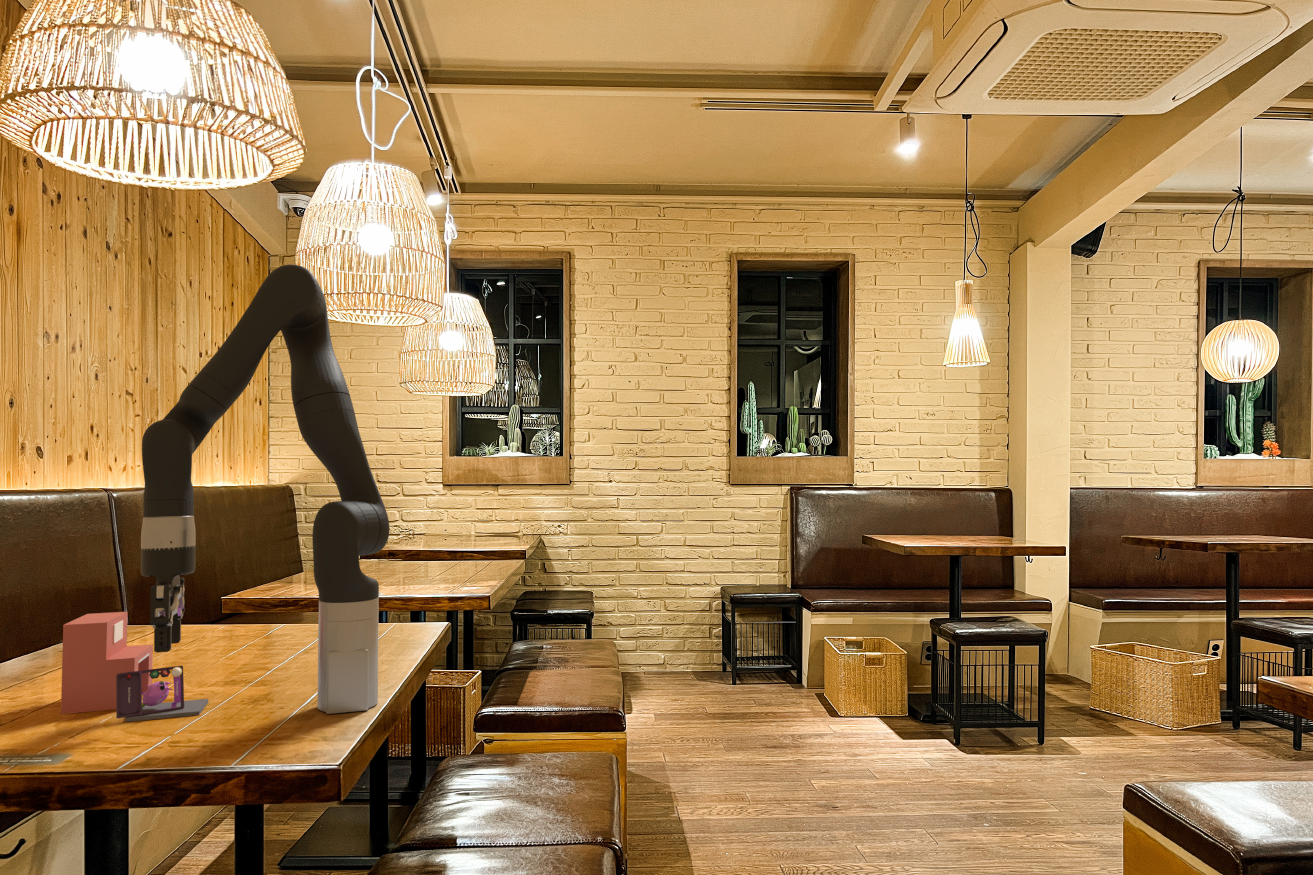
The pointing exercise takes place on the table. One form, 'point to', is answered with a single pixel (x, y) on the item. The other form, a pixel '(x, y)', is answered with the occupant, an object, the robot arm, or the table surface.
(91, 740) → the table surface
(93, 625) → the dispenser
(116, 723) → the table surface
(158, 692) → the boxed purple toy
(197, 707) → the mat
